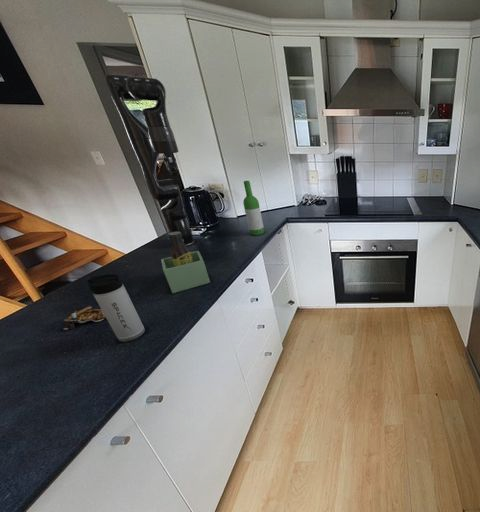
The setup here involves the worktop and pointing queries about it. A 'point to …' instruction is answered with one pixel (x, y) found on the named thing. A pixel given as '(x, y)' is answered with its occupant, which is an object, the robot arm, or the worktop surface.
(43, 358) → the worktop surface
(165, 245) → the worktop surface
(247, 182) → the wine bottle
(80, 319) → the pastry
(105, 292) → the travel mug
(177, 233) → the sauce bottle
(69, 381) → the worktop surface
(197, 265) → the caddy
